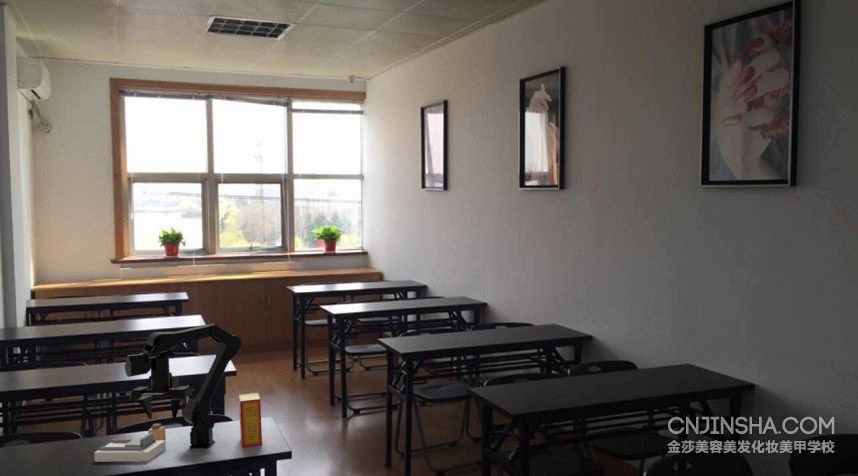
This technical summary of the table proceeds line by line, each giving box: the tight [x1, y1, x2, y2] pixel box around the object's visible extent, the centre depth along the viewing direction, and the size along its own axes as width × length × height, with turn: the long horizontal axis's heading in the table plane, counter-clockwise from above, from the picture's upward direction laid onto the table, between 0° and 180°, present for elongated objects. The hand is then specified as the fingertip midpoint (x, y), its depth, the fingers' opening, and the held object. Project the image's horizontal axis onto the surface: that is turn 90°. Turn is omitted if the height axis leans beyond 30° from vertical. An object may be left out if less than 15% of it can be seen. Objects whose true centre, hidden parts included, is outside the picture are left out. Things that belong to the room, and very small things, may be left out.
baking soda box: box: [238, 392, 263, 449], centre depth 241 cm, size 10×6×16 cm
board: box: [93, 438, 167, 463], centre depth 231 cm, size 18×12×4 cm, turn 84°
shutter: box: [125, 433, 154, 448], centre depth 231 cm, size 6×6×3 cm
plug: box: [147, 423, 167, 440], centre depth 241 cm, size 4×4×7 cm
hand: (162, 418), depth 230 cm, fingers open, 8 cm apart
